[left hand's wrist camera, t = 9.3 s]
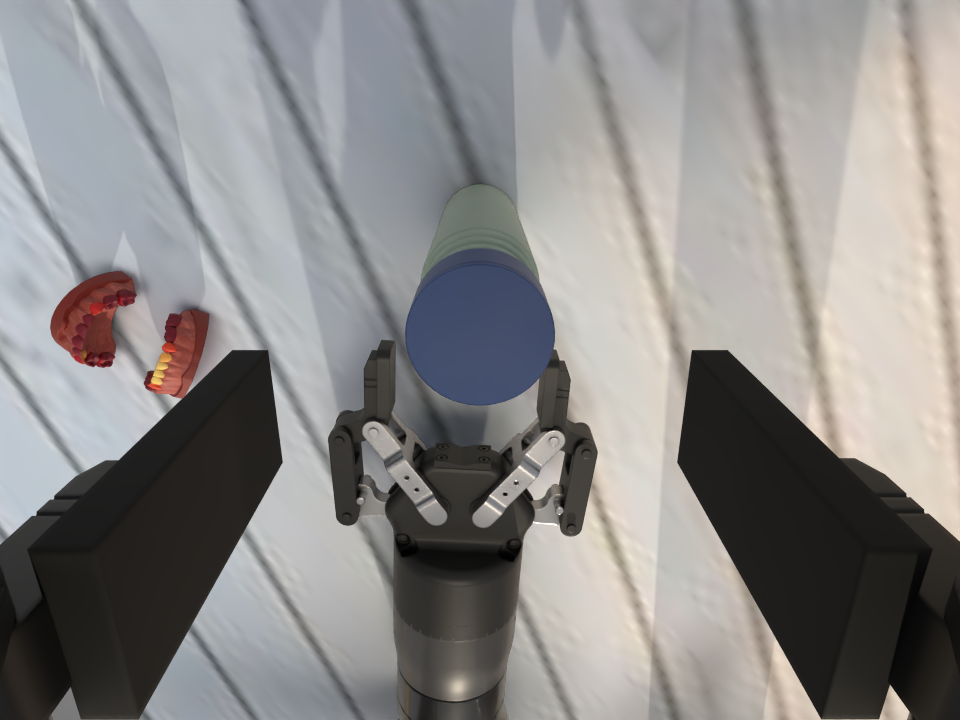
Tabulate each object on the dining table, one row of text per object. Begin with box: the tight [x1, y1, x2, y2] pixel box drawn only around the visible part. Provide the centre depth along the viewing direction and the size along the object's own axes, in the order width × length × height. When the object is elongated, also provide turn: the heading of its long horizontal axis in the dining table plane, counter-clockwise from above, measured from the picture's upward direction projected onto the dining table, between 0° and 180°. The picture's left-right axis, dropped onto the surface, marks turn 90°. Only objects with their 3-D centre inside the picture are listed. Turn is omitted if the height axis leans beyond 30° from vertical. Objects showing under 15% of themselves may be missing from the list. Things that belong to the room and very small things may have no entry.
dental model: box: [50, 271, 209, 398], centre depth 37 cm, size 6×4×8 cm
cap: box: [405, 248, 555, 405], centre depth 19 cm, size 4×4×2 cm
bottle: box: [421, 184, 539, 281], centre depth 28 cm, size 4×4×19 cm
